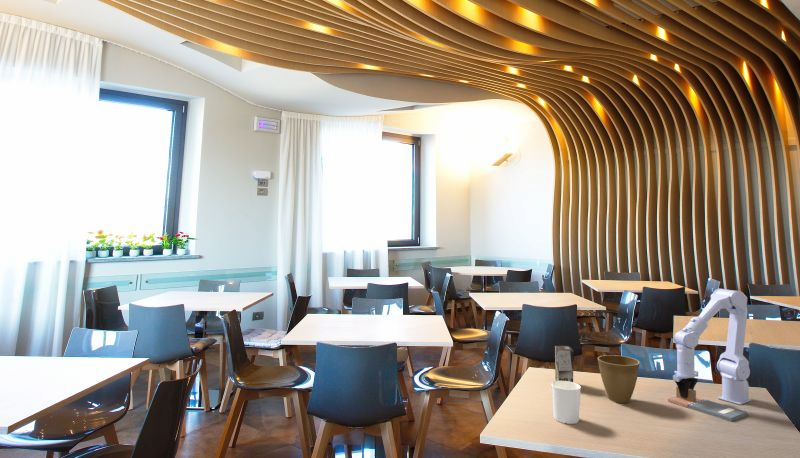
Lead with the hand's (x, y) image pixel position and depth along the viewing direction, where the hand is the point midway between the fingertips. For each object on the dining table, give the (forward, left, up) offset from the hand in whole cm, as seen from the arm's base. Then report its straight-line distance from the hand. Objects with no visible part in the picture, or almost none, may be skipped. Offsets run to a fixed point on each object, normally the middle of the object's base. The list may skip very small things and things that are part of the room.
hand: (686, 397), depth 172 cm
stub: (0, 0, -2) cm, 2 cm away
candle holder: (+56, -11, -2) cm, 57 cm away
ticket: (0, +11, -2) cm, 11 cm away
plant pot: (+22, -14, -2) cm, 26 cm away
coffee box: (+26, -37, -2) cm, 45 cm away
